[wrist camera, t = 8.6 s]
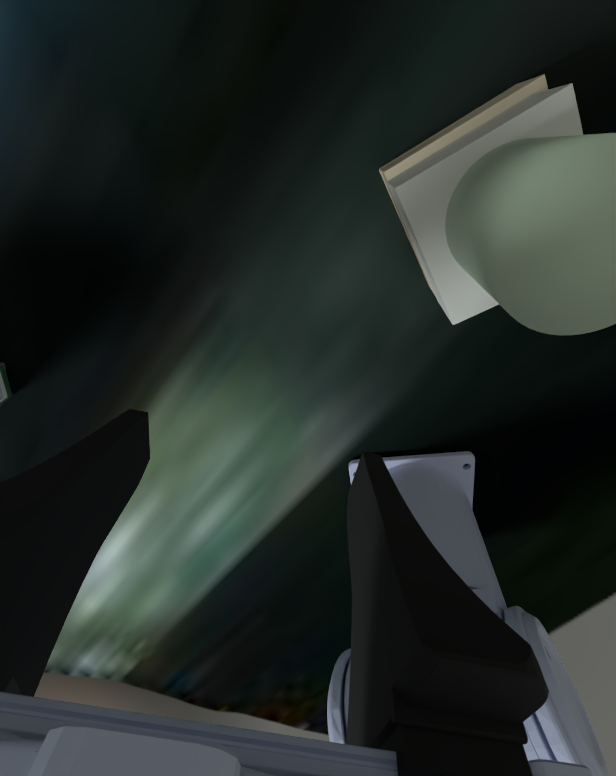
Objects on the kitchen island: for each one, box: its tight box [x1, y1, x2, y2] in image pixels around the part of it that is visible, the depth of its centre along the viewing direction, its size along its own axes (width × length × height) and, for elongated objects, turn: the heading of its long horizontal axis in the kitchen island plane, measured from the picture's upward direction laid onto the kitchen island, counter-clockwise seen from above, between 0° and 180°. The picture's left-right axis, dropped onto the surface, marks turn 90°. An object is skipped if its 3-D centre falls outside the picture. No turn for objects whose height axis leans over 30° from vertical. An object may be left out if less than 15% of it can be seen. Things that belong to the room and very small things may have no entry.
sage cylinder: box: [445, 133, 616, 335], centre depth 11 cm, size 4×4×5 cm
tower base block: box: [379, 74, 548, 295], centre depth 17 cm, size 6×6×3 cm
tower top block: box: [387, 83, 583, 325], centre depth 15 cm, size 6×6×3 cm
